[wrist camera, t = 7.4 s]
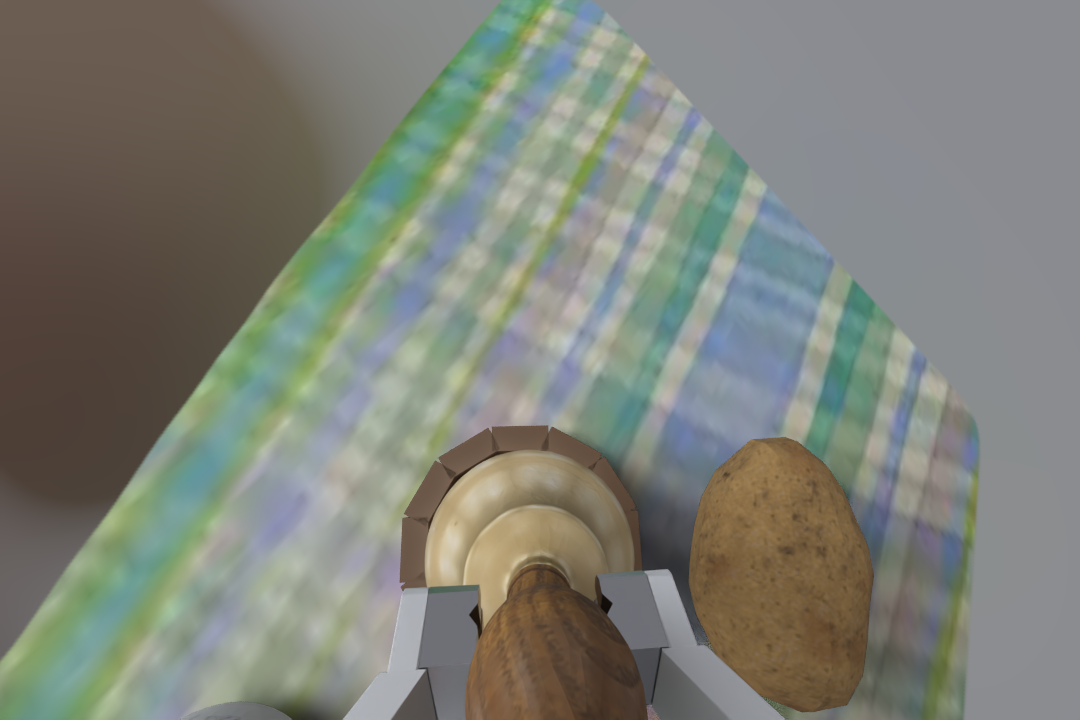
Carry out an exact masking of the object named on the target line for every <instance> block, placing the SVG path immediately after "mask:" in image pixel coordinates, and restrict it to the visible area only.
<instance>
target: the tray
mask: <svg viewBox="0 0 1080 720" xmlns="http://www.w3.org/2000/svg"><path fill="white" fill-rule="evenodd" d="M519 450H541V451H549V452H553V453H557V454H560V455H564V456H566V457H569V458H571V459H573V460H575V461H577V462H579V463H581V464H582V465H584V466H585V467H587V468H589V469H590V470H591V471H593V472H594V473H595V474H596V475H597V476H599V477H600V478H601V479H602V480H603V481H604V482H605V483H606V484H607V486H608V487H609V488H610V489H611V491H612V492H613V493H614V495H615V496H616V498H617V500H618V501H619V503H620V505H621V507H622V509H623V511H624V513H625V515H626V518H627V521H628V524H629V527H630V530H631V534H632V540H633V546H634V558H635V562H634V571H641V570H642V571H643V569H642V556H641V543H640V530H639V518H638V510H632V509H634V508H635V507H637V506H636V505H635V503H634V502H633V500H632V499H631V497H630V495H629V494H628V492H627V491H626V489H625V488H624V486H623V484H622V483H621V481H620V480H619V478H618V477H617V475H616V473H615V472H614V470H613V469H612V467H611V466H610V464H609V462H608V461H607V459H606V458H605V457H603V458H601V459H599V458H600V456H601V453H600V452H598V451H596V450H594V449H592V448H590V447H589V446H587V445H585V444H583V443H581V442H579V441H578V440H576V439H574V438H572V437H570V436H568V435H567V434H565V433H563V432H561V431H559V430H557V429H556V428H554V427H551V429H550V431H549V433H548V426H506V427H492V433H491V432H490V430H489V428H487V429H486V430H484V431H482V432H481V433H479V434H477V435H475V436H474V437H472V438H470V439H469V440H467V441H465V442H464V443H462V444H460V445H459V446H457V447H455V448H454V449H452V450H450V451H449V452H447V453H445V454H444V455H442V456H440V457H439V460H440V462H441V463H442V464H441V463H439V462H437V461H435V462H434V464H433V465H432V467H431V469H430V470H429V472H428V474H427V475H426V477H425V479H424V481H423V482H422V484H421V486H420V487H419V489H418V491H417V492H416V494H415V496H414V497H413V499H412V501H411V502H410V504H409V506H408V508H407V509H406V511H405V513H404V514H405V515H407V516H409V517H406V518H403V519H402V542H401V565H400V583H401V582H406V583H405V584H404V585H402V586H401V589H402V591H403V592H404V589H405V588H419V587H427V584H426V578H425V549H426V542H427V536H428V532H429V529H430V526H431V523H432V520H433V517H434V515H435V513H436V511H437V509H438V507H439V505H440V504H441V502H442V500H443V499H444V497H445V496H446V494H447V493H448V492H449V490H450V489H451V488H452V487H453V486H454V484H455V483H456V482H457V481H458V480H459V479H460V478H461V477H462V476H464V475H465V474H466V473H467V472H469V471H470V470H471V469H473V468H474V467H476V466H477V465H479V464H480V463H482V462H484V461H486V460H488V459H490V458H492V457H495V456H498V455H501V454H504V453H508V452H512V451H519Z"/></svg>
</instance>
